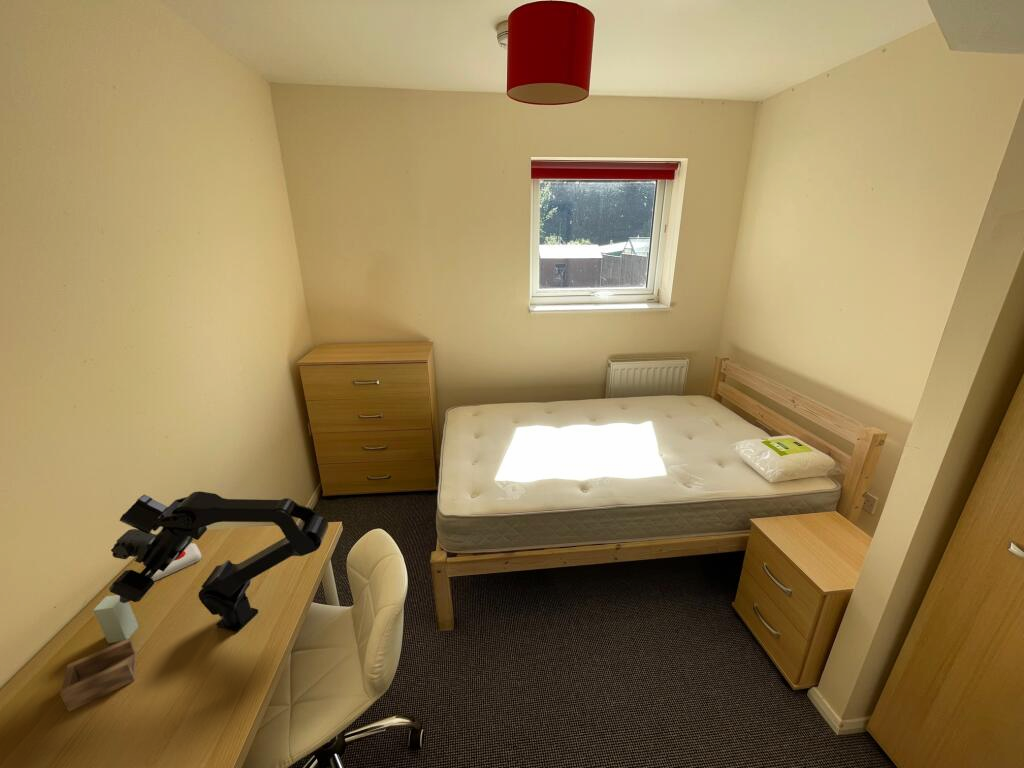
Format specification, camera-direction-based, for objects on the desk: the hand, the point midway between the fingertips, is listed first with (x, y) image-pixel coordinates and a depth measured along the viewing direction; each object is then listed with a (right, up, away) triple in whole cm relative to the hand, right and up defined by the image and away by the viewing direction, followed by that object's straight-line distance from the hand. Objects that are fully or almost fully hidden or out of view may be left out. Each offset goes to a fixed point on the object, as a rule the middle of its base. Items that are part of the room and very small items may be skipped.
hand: (137, 585), depth 97 cm
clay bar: (-6, -13, +3) cm, 15 cm away
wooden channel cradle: (0, -17, -8) cm, 18 cm away
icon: (-12, -6, +26) cm, 29 cm away
